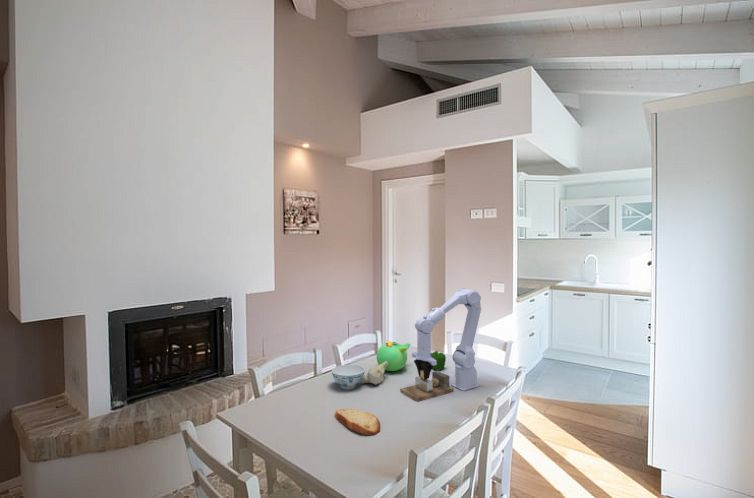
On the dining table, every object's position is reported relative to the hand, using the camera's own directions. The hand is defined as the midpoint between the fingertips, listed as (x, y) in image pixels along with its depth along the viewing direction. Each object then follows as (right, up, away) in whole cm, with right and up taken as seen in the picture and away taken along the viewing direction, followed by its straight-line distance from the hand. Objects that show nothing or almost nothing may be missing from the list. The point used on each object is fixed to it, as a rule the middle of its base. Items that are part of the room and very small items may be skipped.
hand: (424, 377), depth 167 cm
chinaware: (-33, -7, +8) cm, 35 cm away
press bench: (+1, -7, +1) cm, 7 cm away
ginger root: (-21, -7, +14) cm, 26 cm away
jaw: (0, -5, 0) cm, 5 cm away
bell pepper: (+11, -6, +31) cm, 34 cm away
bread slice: (-28, -8, -28) cm, 40 cm away
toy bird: (-12, -6, +30) cm, 33 cm away
